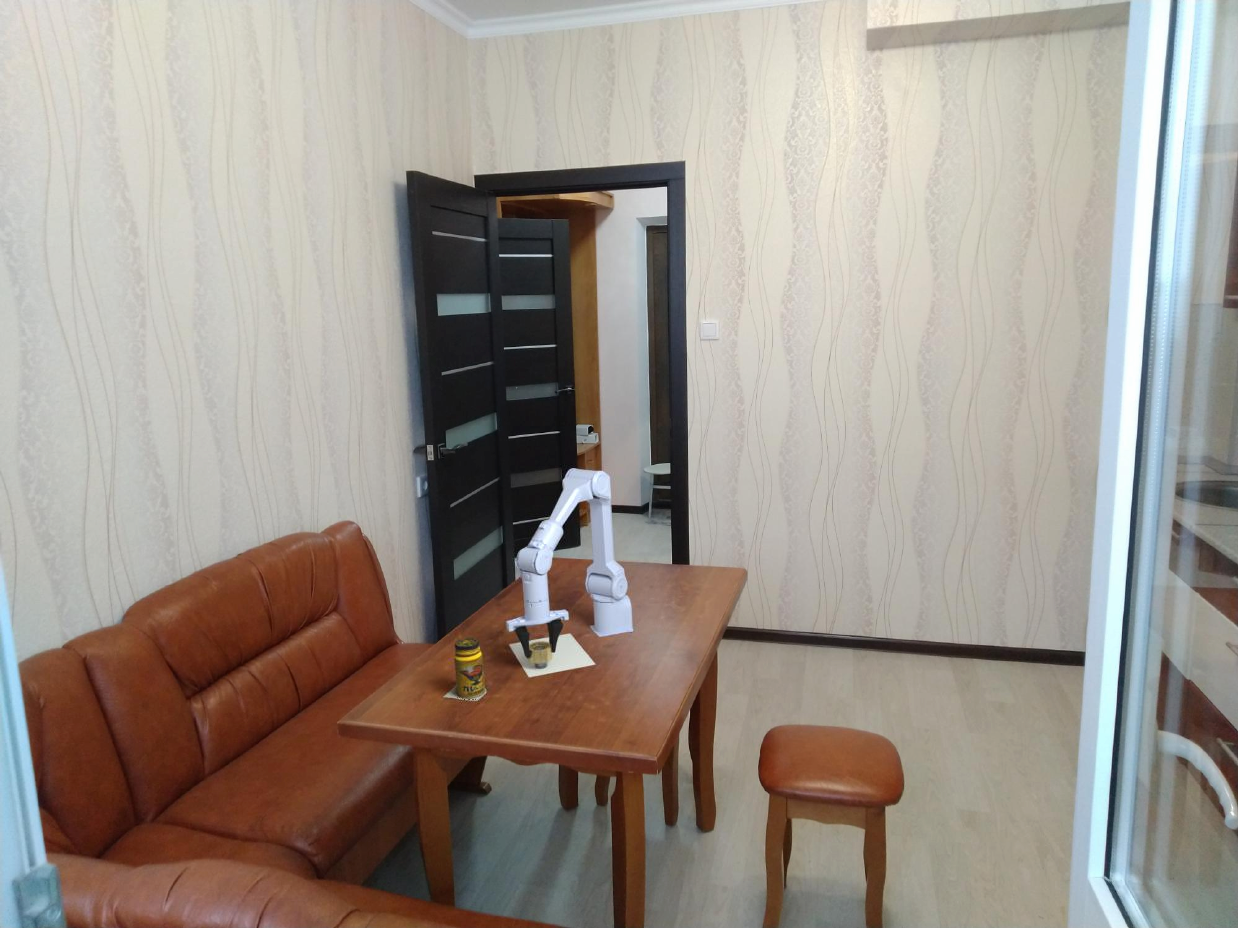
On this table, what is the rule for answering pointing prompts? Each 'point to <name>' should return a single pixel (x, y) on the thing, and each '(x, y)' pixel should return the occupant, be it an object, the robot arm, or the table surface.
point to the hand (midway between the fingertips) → (540, 653)
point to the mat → (555, 656)
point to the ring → (540, 652)
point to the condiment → (468, 671)
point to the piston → (540, 665)
